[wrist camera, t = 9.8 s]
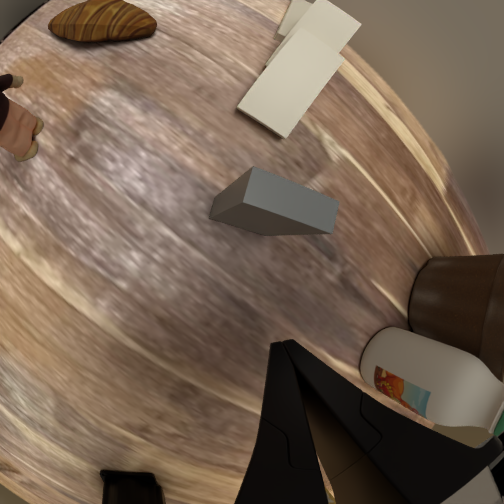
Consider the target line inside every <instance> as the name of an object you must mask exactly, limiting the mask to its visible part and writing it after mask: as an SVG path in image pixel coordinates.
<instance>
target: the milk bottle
mask: <svg viewBox="0 0 504 504" xmlns="http://www.w3.org/2000/svg"><path fill="white" fill-rule="evenodd" d="M360 370H361V374H362V377H363V379H364V381H365V382H366V383H368V384H369V385H370V386H372V387H373V388H375V389H377V390H378V391H380V392H381V393H383V394H385V395H386V396H388V397H389V398H391V399H393V400H394V401H396V402H398V403H399V404H401V405H403V406H404V407H406V408H408V409H409V410H411V411H413V412H415V413H416V414H418V415H420V416H422V417H424V418H426V419H428V420H430V421H432V422H434V423H437V424H440V425H444V426H477V427H483V428H486V429H488V430H489V433H492V434H494V435H496V436H498V435H499V434H500V433H501V432H503V431H504V384H503V383H502V382H500V381H499V380H498V379H497V378H496V377H495V376H494V375H493V374H492V373H491V371H490V370H489V369H488V368H487V366H486V365H485V364H484V363H483V362H482V361H481V360H480V359H478V358H477V357H475V356H474V355H472V354H470V353H468V352H465V351H463V350H460V349H458V348H455V347H452V346H449V345H446V344H444V343H441V342H438V341H435V340H432V339H429V338H426V337H424V336H421V335H418V334H415V333H412V332H409V331H406V330H403V329H400V328H397V327H389V328H385V329H383V330H381V331H380V332H378V333H377V334H376V335H375V336H374V337H373V338H372V340H371V341H370V342H369V344H368V345H367V347H366V349H365V351H364V353H363V356H362V360H361V367H360Z"/></svg>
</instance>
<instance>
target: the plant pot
mask: <svg viewBox="0 0 504 504" xmlns="http://www.w3.org/2000/svg"><path fill="white" fill-rule="evenodd" d="M409 323H410V325H411V327H412V329H413V333H415V334H418V335H421V336H424V337H426V338H429V339H432V340H435V341H438V342H441V343H444V344H446V345H449V346H452V347H455V348H458V349H460V350H463V351H465V352H468V353H470V354H472V355H474V356H475V357H477V358H478V359H480V360H481V361H482V362H483V363H484V364H485V365H486V366H487V368H488V369H489V370H490V371H491V373H492V374H493V375H494V376H495V377H496V378H497V379H498V380H499V381H500V382H502V383H503V384H504V254H493V255H477V256H454V257H434V258H432V259H430V260H429V261H428V262H427V266H426V267H425V268H424V269H422V270H421V271H420V272H419V274H418V277H417V279H416V281H415V284H414V287H413V291H412V295H411V300H410V308H409Z"/></svg>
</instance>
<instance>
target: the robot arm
mask: <svg viewBox="0 0 504 504" xmlns="http://www.w3.org/2000/svg"><path fill="white" fill-rule="evenodd" d="M362 392H363V391H362V390H360V389H359V388H358V387H356V386H355V385H354V384H352V383H351V382H349V381H348V380H347V379H345V378H344V377H343V376H341V375H340V374H338V373H337V372H336V371H334V370H333V369H332V368H330V367H329V366H328V365H326V364H325V363H324V362H322V361H321V360H320V359H318V358H317V357H316V356H314V355H313V354H312V353H311V352H309V351H308V350H307V349H305V348H304V347H303V346H301V345H300V344H299V343H298V342H296V341H295V340H293V339H290V340H284V341H282V342H281V341H279V342H273V343H271V344H270V350H269V358H268V366H267V374H266V381H265V389H264V396H263V403H262V410H261V417H260V423H259V429H258V434H257V439H256V443H255V447H254V450H253V454H252V457H251V460H250V462H249V465H248V468H247V471H246V474H245V476H244V479H243V482H242V484H241V487H240V490H239V492H238V495H237V498H236V500H235V503H234V504H329V502H328V498H327V494H326V490H325V486H324V482H323V478H322V474H321V471H320V466H319V462H318V458H317V455H318V457H319V459H320V462H321V464H322V466H323V468H324V470H325V473H326V475H327V477H328V479H329V481H330V484H331V486H332V489H333V492H334V497H335V502H336V504H504V431H503V432H501V433H500V434H499V435H498V436H496V435H494V436H492V437H490V438H489V439H487V440H486V441H484V442H483V443H481V444H480V445H478V446H477V447H475V448H472V447H469V446H467V445H465V444H462V443H460V442H458V441H455V440H453V439H451V438H449V437H446V436H444V435H442V434H440V433H438V432H436V431H433V430H431V429H429V428H427V427H425V426H423V425H421V424H419V423H417V422H415V421H413V420H411V419H409V418H407V417H405V416H403V415H401V414H399V413H397V412H395V411H394V410H392V409H390V408H388V407H386V406H385V405H383V404H381V403H380V402H378V401H377V400H375V399H374V398H372V397H371V396H369V395H368V394H367V393H365V392H363V393H362ZM316 453H317V454H316ZM100 476H101V478H102V480H103V482H104V488H103V498H102V504H166V502H165V496H164V493H163V490H162V487H161V486H159V485H157V482H156V479H155V476H154V475H153V474H151V473H128V472H114V471H104V470H101V471H100Z"/></svg>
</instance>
